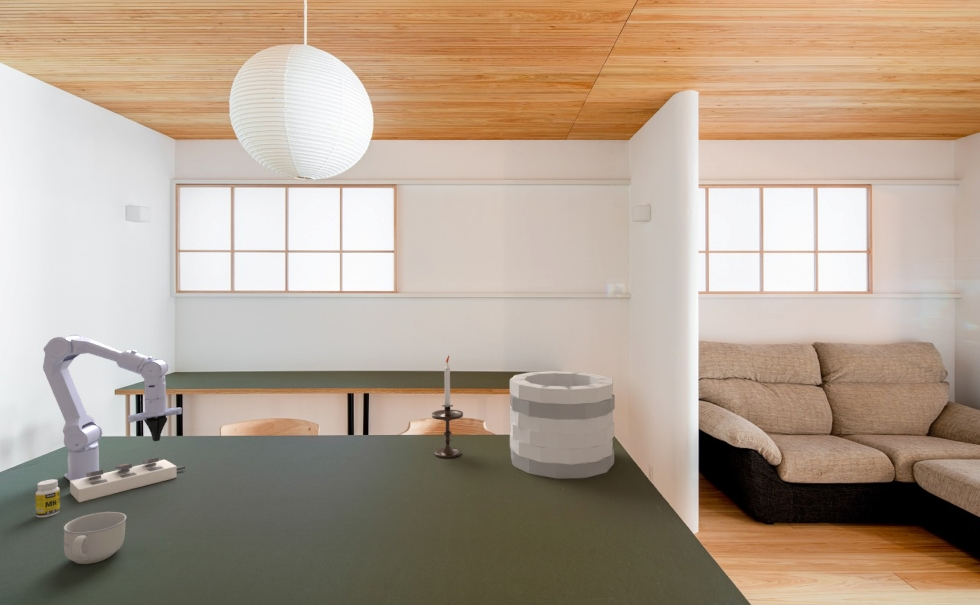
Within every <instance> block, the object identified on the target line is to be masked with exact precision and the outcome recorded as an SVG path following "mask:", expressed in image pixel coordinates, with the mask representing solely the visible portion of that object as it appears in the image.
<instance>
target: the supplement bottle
mask: <svg viewBox="0 0 980 605" xmlns="http://www.w3.org/2000/svg"><path fill="white" fill-rule="evenodd" d="M58 481H59V480H58V479H53V478H51V479H46V480H45V479H44V480H42V481H40V482H38V483H37V491H36V492H35V517H37V518H39V519H40V518H42V519H43V518H49V517H52V516H55V515H57V514H59V513H60V510H61V501H60V500H61V497H60V496H61V492H60V491H61V490H60V487H59V486H58V485H59V482H58Z"/></svg>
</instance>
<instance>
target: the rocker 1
mask: <svg viewBox="0 0 980 605" xmlns="http://www.w3.org/2000/svg"><path fill="white" fill-rule="evenodd" d="M103 473H104V470H103V469H101V470H100V469H99V471H93V472H89V473H86V474H87V477H93V476H97V475H102V474H103Z"/></svg>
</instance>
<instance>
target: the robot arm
mask: <svg viewBox="0 0 980 605" xmlns="http://www.w3.org/2000/svg"><path fill="white" fill-rule="evenodd" d="M42 349H43V352H44V358H43V365H42V369H43V372H44V374H45V377H46V380H47V381H48V384H49V386H50V389H51V390H52V393H53V395H54V397H55V401H56V403H57V406H58V407H59V410H60V413H61V415H62V417H63V420H64V422H65V423H64V426H63V429H62V433H63V436H64V437H63V445H64V446H65V448H66V449H68V454H67V473H65V474H64V477H65V478H66V479H67V480H68V481H69V482H70V481H72V480H76V479H81V478H85V477H87V474H86V473H89V472H93V471H99V470H100V459H99V458H100V455H99V454H100V452H99V450H100V449H99V448H100V447H99V441H100V439H101V437H102V436H103V429H102V428H101V426H100V424H97V423H96V421H95V419H94V417H92V416H90V415H88V414H87V411H86V408H85V407H84V404H83V402H82V399H81V398H80V394H79V392H78V390H77V388H76V385H75V383H74V380H73V378H72V376H71V373H70V371H69V367H70V365H71V364H72V362H73V361H74V359H75V358H77V357H79V356H80V355H84V354H90V355H93V356H96V357H99V358H103V359H106V360H110V361H113V362H116V365H117V367H118V368H120V369H123V370H126V371H129V372H132V373H135V374H138V375H140V376H141V377H142V378H143V379H144V383H143V384H144V385H143V386H144V393H143V394H144V412H140V413H135V414H130V415H127V422H128V423H135V422H138V421H144V423H145V425H146V426H147V428H148V429H149V432H150V434H151V438H152V441H153V442H159V441H161V440H160V439H161V436H162V432H163V429H164V427H165V425H166V423H167V422H168V417H169V416H175V415H183V408H182V407H172V408H167V387H166V386H167V383H166V374H167V372H168V370H169V366H168V363H167V362H166V361H165V360H163V359H162V358H156V359H155V358H153V356H151V355H150V356H146V355H144V354H141V353H139V352H138V351H137V350H136V349H132V350H130V349H127V350H125V351H122V350H118V349H117V348H116V349H115V348H113V347H110V346H108V345H106V344H104V343H101V342H99V341H96V340H94V339H91V338H90V337H88V336H87V337H86V336H81V335H80V334H71V335H67V336H65V335H64V336H57V337H53V338H51V339H50V340H49V341H48V342H47V344H45V346H44V347H43V348H42Z"/></svg>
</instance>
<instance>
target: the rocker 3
mask: <svg viewBox="0 0 980 605" xmlns="http://www.w3.org/2000/svg"><path fill="white" fill-rule="evenodd" d="M159 461H160V459H159V457H153V458H148V459H144V460H142V464H143V465H144V464H150V463H154V462H159Z"/></svg>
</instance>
